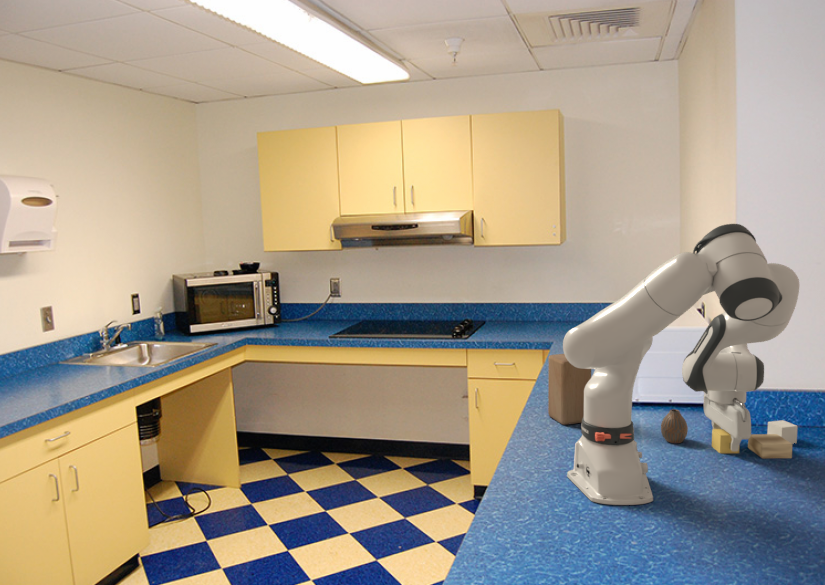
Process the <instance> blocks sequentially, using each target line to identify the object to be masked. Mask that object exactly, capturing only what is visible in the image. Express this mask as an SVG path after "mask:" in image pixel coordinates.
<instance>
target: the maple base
mask: <svg viewBox="0 0 825 585" xmlns="http://www.w3.org/2000/svg"><path fill="white" fill-rule="evenodd" d="M747 441H748V442H747V448H748V449H749V450H750V451H751V452H753V453H754V454H756V455H757V456H758V457H760V459H792V458H793V444H791V443H790V442H788V441H787V440H785V439H784V438H782V437H781V436H779V435H778V434H767V433H765V434H763V433H759V434H758V433H757V434H755V433H753V434H752V433H751V436H750V438H749V439H747Z"/></svg>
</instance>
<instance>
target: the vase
mask: <svg viewBox="0 0 825 585" xmlns="http://www.w3.org/2000/svg"><path fill="white" fill-rule="evenodd" d="M688 428H689V427H688V423H687V420H686V419H685V418H684V416H683V415H682V414H681V411H680V410H679V409H675V408H674V409H673V408H672V409H669V411H668V413H667V414H665V416H664V417H663V419H662V421H661V424H660V431H661V435H662V437H663V439H664V440H665V441H666V442H669V443H670V444H681V443H683V442H684V440H686V438H687V435H688V431H689V430H688Z"/></svg>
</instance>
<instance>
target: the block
mask: <svg viewBox="0 0 825 585" xmlns="http://www.w3.org/2000/svg"><path fill="white" fill-rule="evenodd" d="M547 370H548V372H547V373H548V377H547V378H548V382H547V383H548V390H547V391H548V392H547V393H548V395H547V396H548V401H547V402H548V404H547V408H548V409H547V411H548V412H547V414H548V416H549V418H551V419H553V420H554V421H556V422H558V423H559V424H561V425H563V426H565V425H566V426H567V425H575V424H581V423H582V418H583V417H584V388H585V386H586V384H587V382H588V381H589V380H590V379H591V377H592V369H581V368H577V367H574V366H573V365H572V364H570V363H569V361H568V360H567V358H566V357H565V354H564V353H558V354H556V353H555V354H551V355H548V369H547Z"/></svg>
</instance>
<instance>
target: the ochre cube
mask: <svg viewBox="0 0 825 585" xmlns="http://www.w3.org/2000/svg"><path fill="white" fill-rule="evenodd" d="M711 430H712V431H711V448H713V449H714V450H716V452H717V453H718V454H740V449H739V450H738V451H731V450H730V449H729V443H731V441H732V439H731V435H730V434H729V433H728V432H726V431H725V430H724V429H722V428H721V429H713V428H711Z"/></svg>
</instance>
